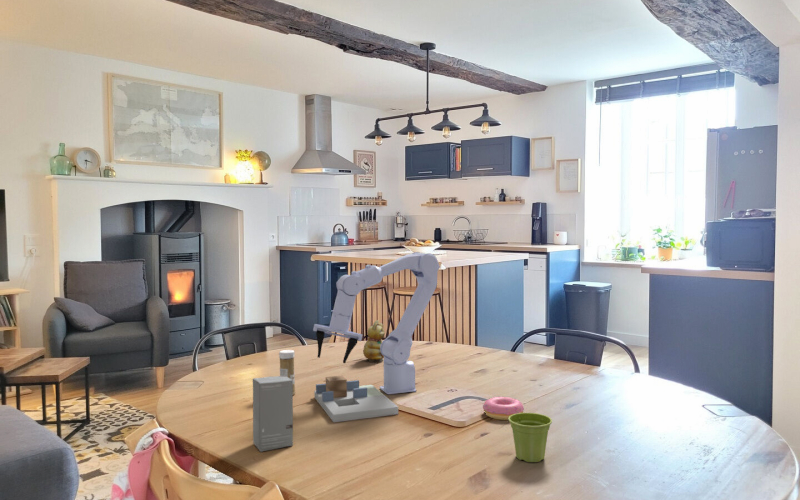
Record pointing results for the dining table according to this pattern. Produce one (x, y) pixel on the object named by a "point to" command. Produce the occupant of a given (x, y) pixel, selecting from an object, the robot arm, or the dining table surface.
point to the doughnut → (502, 407)
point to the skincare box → (272, 412)
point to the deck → (355, 402)
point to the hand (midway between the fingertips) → (331, 359)
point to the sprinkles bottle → (287, 365)
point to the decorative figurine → (374, 342)
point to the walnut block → (337, 386)
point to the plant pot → (530, 435)
